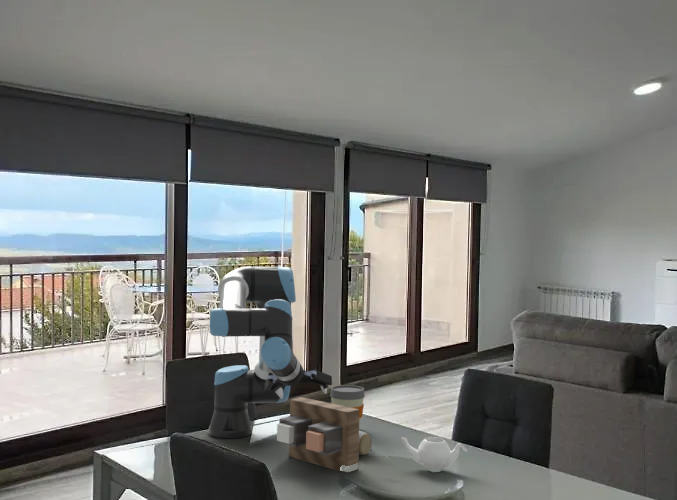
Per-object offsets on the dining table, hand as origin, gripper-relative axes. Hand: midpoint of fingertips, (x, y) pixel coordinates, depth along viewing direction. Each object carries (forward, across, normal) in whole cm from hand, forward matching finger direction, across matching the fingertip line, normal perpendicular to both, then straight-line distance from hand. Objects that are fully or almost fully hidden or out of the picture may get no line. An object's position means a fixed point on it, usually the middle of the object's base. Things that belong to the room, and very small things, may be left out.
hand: (303, 391), depth 208 cm
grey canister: (+26, +12, -14) cm, 32 cm away
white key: (+6, -7, -13) cm, 16 cm away
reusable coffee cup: (+49, +6, 0) cm, 49 cm away
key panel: (+11, 0, -20) cm, 23 cm away
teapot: (+15, +36, -24) cm, 46 cm away
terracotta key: (+1, +3, -17) cm, 18 cm away
